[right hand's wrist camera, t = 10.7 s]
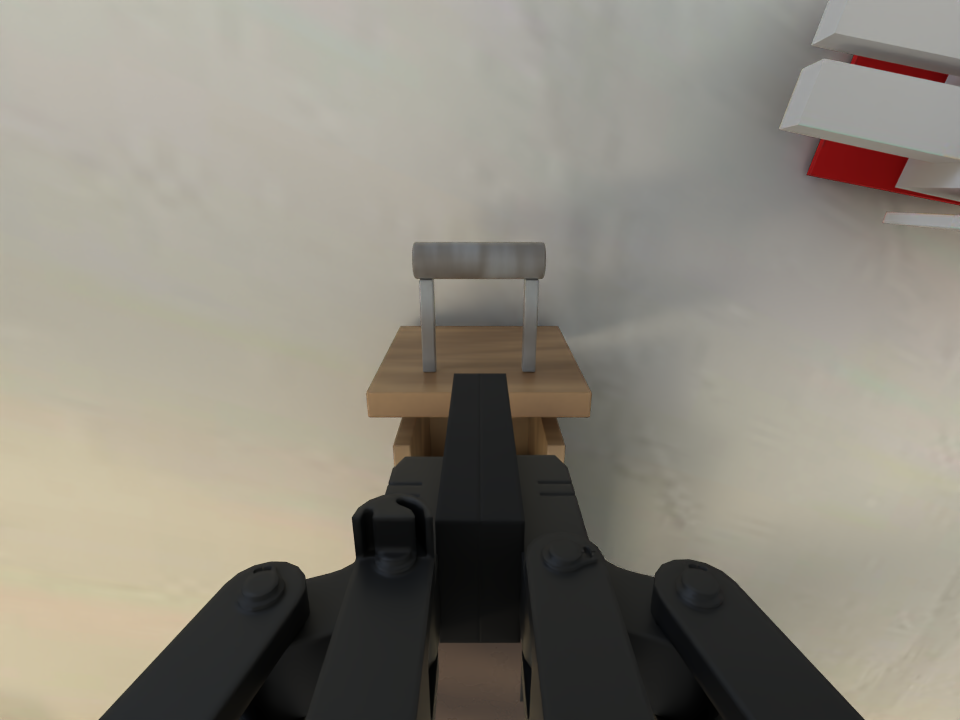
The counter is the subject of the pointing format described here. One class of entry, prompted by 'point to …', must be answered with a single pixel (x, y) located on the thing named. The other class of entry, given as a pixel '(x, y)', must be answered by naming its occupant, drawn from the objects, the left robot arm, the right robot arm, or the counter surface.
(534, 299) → the drawer
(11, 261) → the counter surface
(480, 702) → the cabinet
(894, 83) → the toy
